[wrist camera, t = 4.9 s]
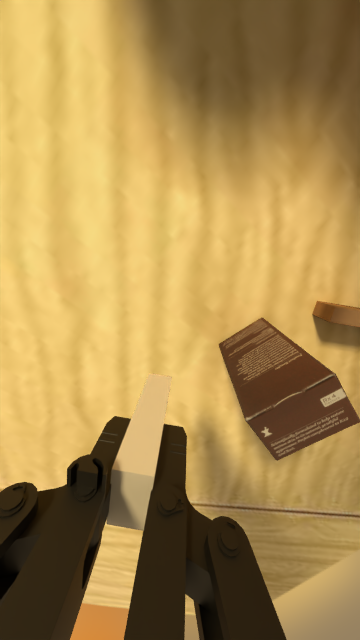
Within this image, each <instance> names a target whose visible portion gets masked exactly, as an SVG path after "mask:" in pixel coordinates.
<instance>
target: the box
mask: <svg viewBox="0 0 360 640" xmlns="http://www.w3.org/2000/svg"><path fill="white" fill-rule="evenodd" d="M219 347H220V350H221V353H222V355H223V358H224V361H225V364H226V367H227V370H228V372H229V375H230V378H231V381H232V383H233V386H234V389H235V392H236V394H237V397H238V400H239V403H240V406H241V409H242V412H243V415H244V418H245V421H246V422H247V423H248V424H249V425H250V427H251V428H252V429H253V431H254V432H255V433H256V434H257V436H258V437H259V438H260V440H261V441H262V442H263V443H264V445H265V446H266V447H267V449H268V450H269V451H270V453H271V454H272V455H273V457H274V458H275V459H276V460H279V459H281V458H283V457H286V456H288V455H290V454H292V453H294V452H296V451H298V450H300V449H302V448H305V447H307V446H309V445H311V444H313V443H315V442H318V441H320V440H322V439H324V438H326V437H328V436H330V435H333V434H335V433H337V432H339V431H341V430H343V429H346V428H348V427H350V426H352V425H355V424H357V423H359V422H360V419H359V417H358V415H357V414H356V412H355V410H354V408H353V407H352V405H351V403H350V401H349V399H348V397H347V395H346V393H345V391H344V390H343V388H342V386H341V384H340V382H339V380H338V378H337V376H336V374H335V373H334V372H332V371H331V370H330V369H328V368H327V367H325V366H324V365H323V364H322V363H320V362H319V361H318V360H316V359H315V358H314V357H312V356H311V355H310V354H309V353H307V352H306V351H305V350H303V349H302V348H301V347H299V346H298V345H297V344H296V343H294V342H293V341H292V340H290V339H289V338H288V337H286V336H285V335H284V334H283V333H281V332H280V331H279V330H277V329H276V328H275V327H274V326H272V325H271V324H270V323H269V322H268V321H266V320H265V319H264V318H261V319H259V320H257V321H256V322H254V323H252V324H251V325H249V326H247V327H246V328H244V329H242V330H241V331H239V332H238V333H236V334H234V335H233V336H231V337H229V338H228V339H226V340H225V341H223V342H221V343H220V344H219Z"/></svg>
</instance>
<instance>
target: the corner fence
mask: <svg viewBox="0 0 360 640" xmlns="http://www.w3.org/2000/svg"><path fill="white" fill-rule="evenodd" d="M313 315H315V316H317V317H320V318H322V319H324V320H326V321H329V322H333V323H339V324H344V325H350V326H356V327H360V308H356V307H350V306H344V305H338V304H332V303H326V302H320V301H317V303H316V306H315V309H314V311H313Z"/></svg>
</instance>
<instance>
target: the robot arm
mask: <svg viewBox="0 0 360 640" xmlns="http://www.w3.org/2000/svg"><path fill="white" fill-rule="evenodd" d="M171 379H172V377H170V376H164V375H158V374H152V373H149V374H148V377H147V379H146V382H145V385H144V387H143V390H142V392H141V395H140V398H139V400H138V403H137V405H136V408H135V410H134V413H133V416H132V418H131V419H129V418H123V417H117V416H114V417H113V418H112V419H111V420H110V421H109V422H107V424H106V426H105V428H104V429H103V431H102V433H101V435H100V437H99V439H98V441H97V443H96V445H95V446H94V448H93V450H92V452H91V454H90V455H85V456H82V457H80V458H78V459H77V460H75V461H74V462H72V464H71V465H70V466H69V467H68V468H67V484H66V485H64V486H62V487H59V488H55V489H49V490H43V491H38V492H37V488H36V487H35V486H34V485H33V484H32V483H27V482H22V483H16V484H14V485H11V486H9V487H7V488H5V489H4V490H3V491H1V492H0V640H70V637H71V634H72V631H73V628H74V625H75V622H76V619H77V615H78V613H79V610H80V606H81V603H82V600H83V597H84V594H85V591H86V588H87V585H88V582H89V579H90V575H91V572H92V569H93V566H94V563H95V560H96V557H97V554H98V551H99V547H100V544H101V538H102V531H103V528H104V525H105V522H106V519H107V524H109V525H115V526H120V527H126V528H131V529H137V530H143V537H142V542H141V548H140V553H139V559H138V564H137V570H136V575H135V581H134V586H133V592H132V597H131V603H130V608H129V614H128V620H127V625H126V630H125V636H124V640H184V631H185V629H184V627H185V626H184V625H185V594H186V595H188V596H189V597H190V598H192V599H193V600H194V606H195V613H196V619H197V625H198V631H199V638H200V640H286V637H285V634H284V632H283V629H282V626H281V624H280V622H279V619H278V616H277V613H276V611H275V608H274V606H273V603H272V600H271V598H270V595H269V592H268V590H267V587H266V585H265V582H264V579H263V577H262V574H261V571H260V569H259V566H258V564H257V561H256V558H255V556H254V553H253V550H252V548H251V545H250V543H249V540H248V538H247V536H246V534H245V532H244V530H243V529H242V527H241V526H240V525H239V524H238V523H237V522H236V521H234V520H232V519H231V518H229V517H224V516H220V517H217V518H215V519H214V520H213V521H212V520H211V519H209V518H207V517H206V516H204V515H202V514H201V513H199V512H198V511H197V510H195V509H194V507H193V506H192V505H191V504H190V502H189V500H188V498H187V495H186V489H185V481H186V444H187V436H186V433H185V431H184V429H183V427H179V426H173V425H167V424H164V420H165V414H166V409H167V403H168V397H169V391H170V385H171Z"/></svg>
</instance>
